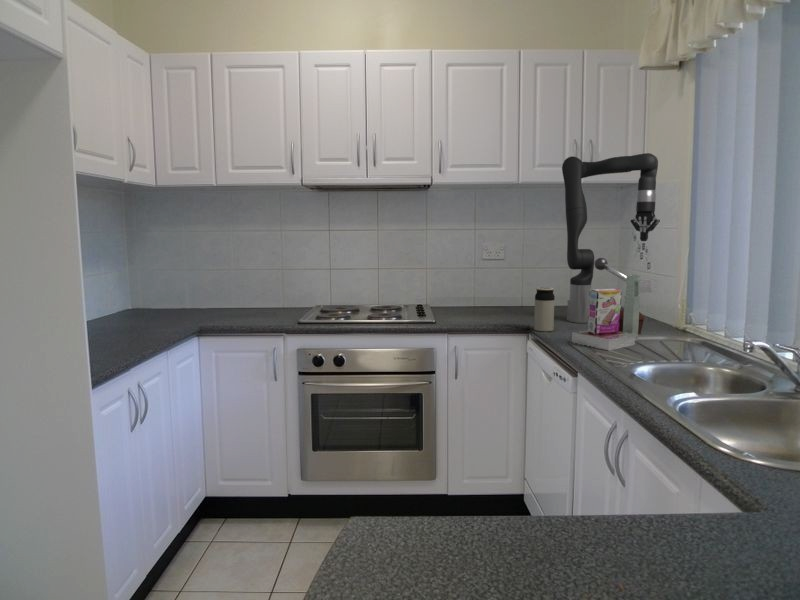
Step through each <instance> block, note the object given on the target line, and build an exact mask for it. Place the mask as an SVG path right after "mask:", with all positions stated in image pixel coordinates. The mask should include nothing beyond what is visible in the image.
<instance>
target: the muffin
mask: <svg viewBox="0 0 800 600" xmlns="http://www.w3.org/2000/svg"><path fill="white" fill-rule="evenodd" d="M623 319H624V308H623V309H620V322H619V332H623ZM644 320H645V316H643V314H642V313H641V312H640V311H639V325H638V334H639V335H642V334H641V333H642V328H643V325H644Z"/></svg>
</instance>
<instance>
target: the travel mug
mask: <svg viewBox="0 0 800 600" xmlns="http://www.w3.org/2000/svg"><path fill="white" fill-rule="evenodd" d="M535 290H536V293H535V295H534V318H533V319H534V321H533V324H534V327H533V329H534V331H537V332H541V333H542V332H543V333H544V332H546V333H548V332H547V331H550V332H552V331H554V328H555V327H554V326H555V325H554V324H555V323H554V322H555V321H554V319H555V297H556V296H555V294H554V290H555V288H554V287H548V286H547V287H545V286H538V287H536V288H535Z"/></svg>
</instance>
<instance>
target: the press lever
mask: <svg viewBox="0 0 800 600" xmlns="http://www.w3.org/2000/svg"><path fill="white" fill-rule="evenodd" d="M594 267H595V269H597V270H599V271H603V270H606V271H607V272H609V273H610V274H612V275H614V276H615V277H617V278H619V279H621V280H622V281H623V282H625V283H626V277H627V275H625V274H624V273H622V272H620V271H618V270H617V269H615V268H613V267H612V266H610V265H608V260H607V259H606V258H605V257H598V258H597V259H595V260H594ZM657 280H658V279H657V278H640V279H638V285H639V294H640V293H642V294H643V293H644V294H645V293H646V294H647V293H648V294H649V293H650V294H652V293H657V292H658V281H657Z"/></svg>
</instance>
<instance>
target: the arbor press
mask: <svg viewBox="0 0 800 600" xmlns="http://www.w3.org/2000/svg"><path fill="white" fill-rule="evenodd" d="M626 276H627V277H626V282H625V295H624V300H623V302H624V303H623V305H624V306H623V309H624V319H623V332H619V333H608V334H596V335H595V334H591V333H588V332H587V329H584V330H579V331H578V330H577V331H573V332H571V343H572V342H574V343H573V344H575V343H578V344H577V345H580V344H582V345H581V346H584V345H587V346H586V347H589V346H591V347H590V348H594V347H595V348H594V349H598V350H599V349H600V350H604V351H613V350H617V349H622V348H627V347H631V346H634V345H635V344H636V343H635V341H636V340H638V339H639V335H638V325H639V312H640V305H641V302H640V301H641V296H640V293H639V285H638V279H641V275H640V274H639V275H637V274H632V275H629V274H627V275H626Z"/></svg>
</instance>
